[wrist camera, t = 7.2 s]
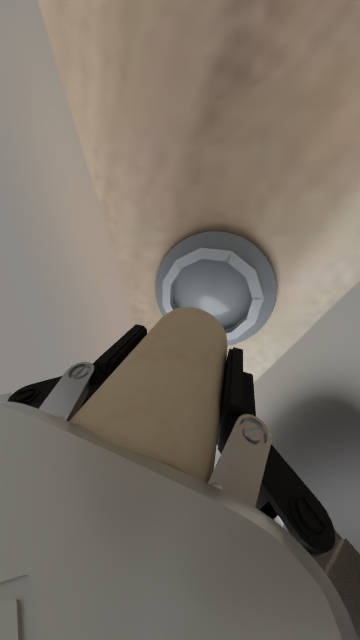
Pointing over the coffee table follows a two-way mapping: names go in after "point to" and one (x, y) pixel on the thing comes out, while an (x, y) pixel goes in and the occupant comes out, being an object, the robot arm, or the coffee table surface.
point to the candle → (166, 394)
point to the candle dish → (219, 282)
